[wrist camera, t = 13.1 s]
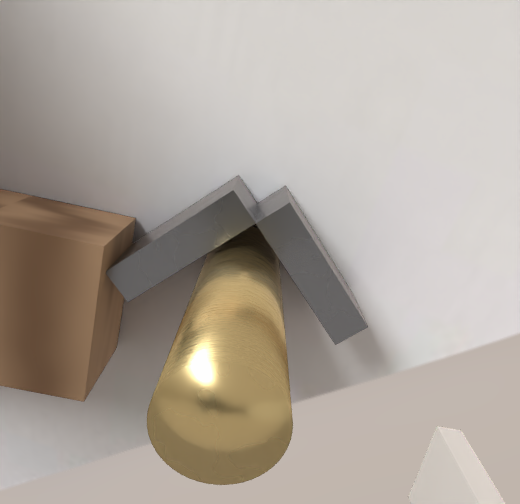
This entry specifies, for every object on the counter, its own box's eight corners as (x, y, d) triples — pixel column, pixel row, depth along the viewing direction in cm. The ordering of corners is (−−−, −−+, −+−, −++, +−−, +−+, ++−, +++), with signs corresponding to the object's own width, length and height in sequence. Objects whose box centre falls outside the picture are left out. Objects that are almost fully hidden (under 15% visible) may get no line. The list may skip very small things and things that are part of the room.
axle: (202, 284, 30) (137, 470, 15) (215, 218, 29) (159, 347, 14) (270, 298, 30) (274, 495, 15) (285, 233, 29) (308, 377, 14)
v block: (127, 265, 30) (101, 296, 25) (143, 153, 28) (118, 164, 23) (345, 311, 31) (360, 350, 26) (377, 206, 29) (400, 226, 24)
